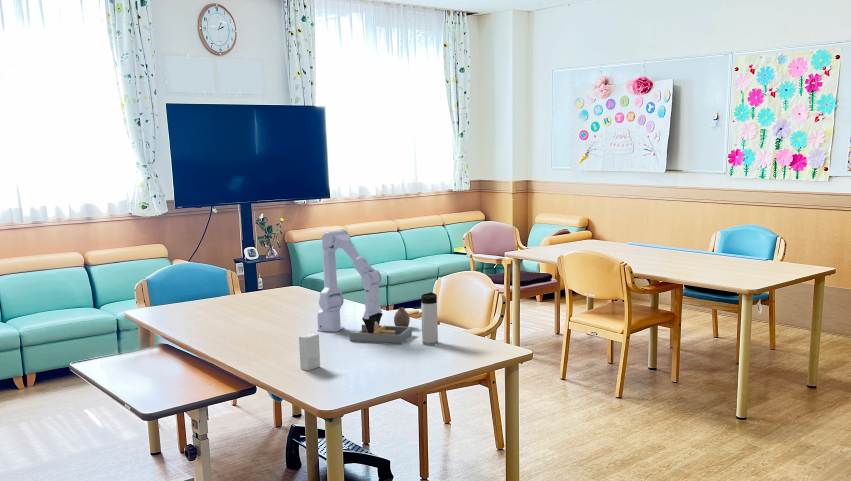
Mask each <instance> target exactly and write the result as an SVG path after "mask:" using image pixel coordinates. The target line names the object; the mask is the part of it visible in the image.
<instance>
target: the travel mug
mask: <svg viewBox="0 0 851 481" xmlns="http://www.w3.org/2000/svg"><path fill="white" fill-rule="evenodd" d="M437 296H438V295H437V294H436V293H434V292H432V291H431V292H428V293H423V294H422V295H421V297H420V298H421V299H420V300H421V302H420V304H421V305H420V306H421V307H420V308H421V337H422V338H421V341H422V342H421V343H422V345H424V346H436V345H438V343H439V332H438V331H439V330H438V329H439V328H438V321H439V320H438V297H437ZM435 344H436V345H435Z"/></svg>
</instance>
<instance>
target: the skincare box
mask: <svg viewBox="0 0 851 481" xmlns="http://www.w3.org/2000/svg"><path fill="white" fill-rule="evenodd" d="M298 344H299V345H298V346H299V348H298V349H299V363H300V364H299V365H300V367H299V368H300V369H301V370H304V371H311V370H314V369H316V368H319V367H321V355H320V353H321V352H320V335H319V334H318V333H313V332H310V333H306V334H304V335H299V337H298Z"/></svg>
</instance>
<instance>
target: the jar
mask: <svg viewBox="0 0 851 481" xmlns="http://www.w3.org/2000/svg"><path fill="white" fill-rule="evenodd" d="M379 325H380V323H379V324H378V323H377V321H375V324H374V331H376V330H377V329H378V328H379ZM367 333H368V332H367Z"/></svg>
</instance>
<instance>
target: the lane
mask: <svg viewBox="0 0 851 481" xmlns="http://www.w3.org/2000/svg"><path fill="white" fill-rule="evenodd" d="M381 326H383V325H380V324H379V328H380V327H381ZM412 329H413V328H412V326H408V327H401V326H395V325H385V330H394V331H395V334H374V333H367V328H366V325H365V324H361V330H359V331H358V332H353V331H352V332H349V341H350V342H354V343H355V342H357V343H372V344H373V343H375V344H389V345H391V344H392V345H402V344H403V343H405V341H406V340H408V339H409V338H410V337H412V336H413V334H412V333H413V332H412V331H413V330H412Z"/></svg>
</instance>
